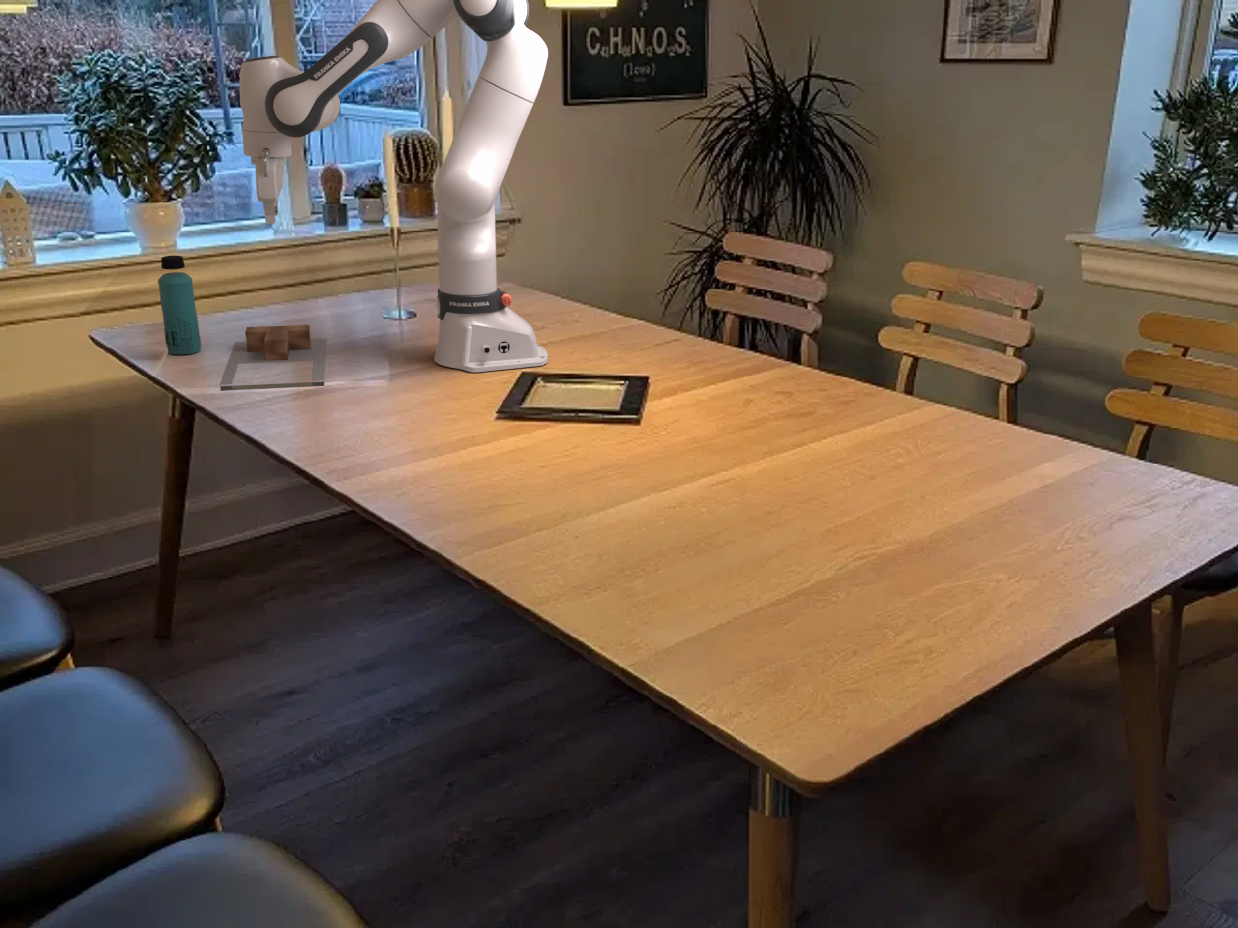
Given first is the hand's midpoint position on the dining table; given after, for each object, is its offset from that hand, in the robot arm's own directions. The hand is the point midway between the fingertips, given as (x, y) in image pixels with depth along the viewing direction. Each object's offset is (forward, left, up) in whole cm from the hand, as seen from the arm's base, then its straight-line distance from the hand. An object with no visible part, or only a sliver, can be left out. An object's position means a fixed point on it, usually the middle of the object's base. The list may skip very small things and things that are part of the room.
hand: (272, 219), depth 217 cm
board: (0, +13, -26) cm, 29 cm away
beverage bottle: (+18, +5, -26) cm, 32 cm away
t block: (0, +8, -25) cm, 26 cm away
